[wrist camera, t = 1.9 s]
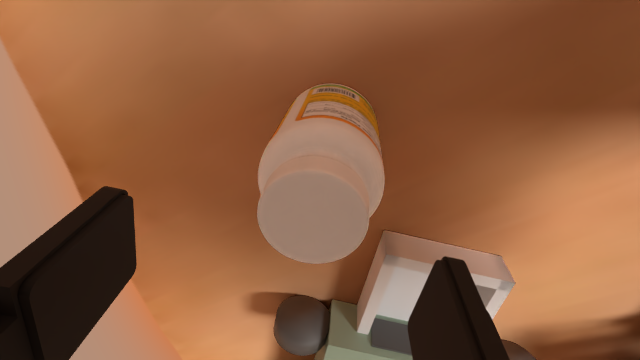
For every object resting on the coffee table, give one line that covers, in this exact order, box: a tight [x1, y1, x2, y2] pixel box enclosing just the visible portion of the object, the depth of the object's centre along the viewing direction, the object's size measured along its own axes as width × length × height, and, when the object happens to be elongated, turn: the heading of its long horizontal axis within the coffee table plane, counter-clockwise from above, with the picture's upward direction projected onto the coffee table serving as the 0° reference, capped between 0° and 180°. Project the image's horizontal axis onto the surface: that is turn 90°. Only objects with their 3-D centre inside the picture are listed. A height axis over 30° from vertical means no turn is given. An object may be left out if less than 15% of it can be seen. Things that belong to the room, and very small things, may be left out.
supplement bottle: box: [257, 83, 385, 264], centre depth 17 cm, size 5×5×10 cm
